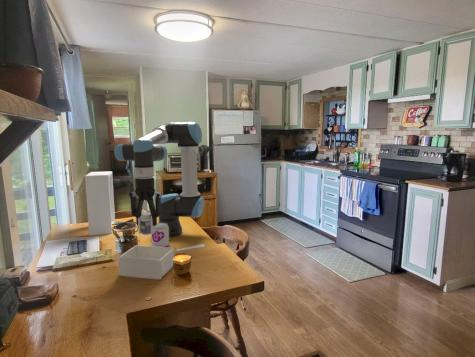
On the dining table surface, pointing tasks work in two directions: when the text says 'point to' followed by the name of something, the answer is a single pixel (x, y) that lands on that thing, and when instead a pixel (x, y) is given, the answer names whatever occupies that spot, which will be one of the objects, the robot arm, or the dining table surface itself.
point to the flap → (133, 257)
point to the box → (100, 202)
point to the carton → (146, 262)
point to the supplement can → (160, 235)
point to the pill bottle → (145, 223)
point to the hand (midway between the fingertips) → (147, 232)
